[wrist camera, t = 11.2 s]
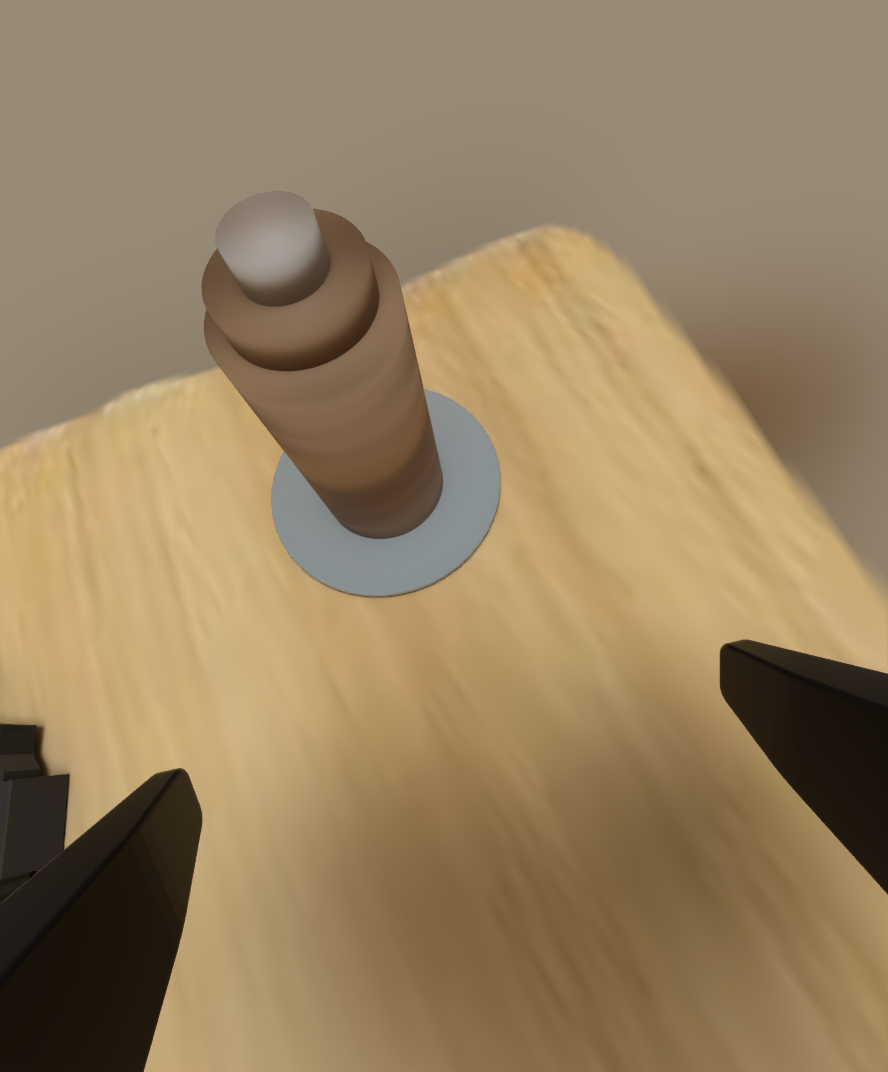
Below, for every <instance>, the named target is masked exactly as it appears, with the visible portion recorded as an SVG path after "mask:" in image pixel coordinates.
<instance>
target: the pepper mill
mask: <svg viewBox="0 0 888 1072" xmlns="http://www.w3.org/2000/svg"><path fill="white" fill-rule="evenodd" d="M215 241H216V246H217V250H216V251H215V252H214V254H213V255H212V257H211V258H210V260H209V262H208V264H207V266H206V269H205V272H204V275H203V280H202V297H203V301H204V304H205V306H206V309H207V310H206V313H205V320H204V334H205V340H206V344H207V347H208V349H209V352H210V354H211V355H212V357H213V359H214V360H215V362H216V363H217V364H218V366H219V367H220V368H221V370H222V371H223V372H224V374H225V375H226V376H227V377H228V379H229V380H230V381H231V383H232V384H233V385H234V387H235V388H236V389H237V390H238V392H239V393H240V394H241V396H242V397H243V398H244V400H245V401H246V402H247V403H248V405H249V406H250V407H251V409H252V410H253V411H254V413H255V414H256V415H257V417H258V418H259V419H260V420H261V422H262V423H263V424H264V426H265V427H266V428H267V430H268V431H269V432H270V433H271V435H272V436H273V437H274V439H275V440H276V441H277V443H278V444H279V445H280V446H281V448H282V449H283V450H284V452H285V453H286V454H287V456H288V457H289V458H290V460H291V461H292V462H293V463H294V465H295V466H296V467H297V469H298V470H299V471H300V473H301V474H302V475H303V476H304V478H305V479H306V480H307V482H308V483H309V484H310V486H311V487H312V488H313V489H314V491H315V492H316V493H317V495H318V496H319V497H320V499H321V500H322V501H323V502H324V504H325V505H326V506H327V508H328V509H329V510H330V512H331V513H332V514H333V516H334V517H335V518H336V519H337V520H338V522H339V523H340V524H341V525H342V526H343V527H345V528H346V529H347V530H349V531H351V532H352V533H354V534H357V535H359V536H362V537H365V538H371V539H389V538H394V537H398V536H401V535H404V534H406V533H408V532H410V531H412V530H414V529H415V528H417V527H418V526H420V525H421V524H422V523H423V522H424V521H425V520H426V519H427V518H428V517H429V516H430V515H431V514H432V512H433V511H434V510H435V508H436V506H437V504H438V502H439V500H440V497H441V493H442V489H443V473H442V469H441V464H440V460H439V455H438V451H437V446H436V442H435V437H434V433H433V428H432V424H431V420H430V415H429V411H428V406H427V402H426V397H425V393H424V388H423V384H422V379H421V375H420V371H419V366H418V362H417V357H416V353H415V348H414V344H413V339H412V335H411V330H410V326H409V322H408V317H407V313H406V308H405V304H404V299H403V295H402V290H401V286H400V282H399V278H398V275H397V273H396V271H395V268H394V267H393V265H392V264H391V262H390V261H389V259H388V258H387V257H386V256H385V255H384V254H383V253H382V252H381V251H379V250H378V249H377V248H376V247H374V246H373V245H371V244H369V243H368V242H366V241H365V239H364V237H363V235H362V234H361V232H360V231H359V230H358V229H357V228H356V227H355V226H354V225H353V224H352V223H351V222H349V221H348V220H346V219H345V218H343V217H341V216H339V215H337V214H334V213H331V212H328V211H324V210H318V209H312V207H311V206H310V204H309V203H308V202H307V201H306V200H305V199H304V198H302V197H300V196H298V195H296V194H293V193H290V192H282V191H273V192H265V193H261V194H257V195H254V196H251V197H249V198H247V199H245V200H243V201H241V202H239V203H238V204H236V205H235V206H234V207H233V208H231V209H230V210H229V211H228V212H227V213H226V214H225V215H224V217H223V218H222V220H221V221H220V223H219V225H218V227H217V230H216V235H215Z"/></svg>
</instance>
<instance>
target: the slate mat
mask: <svg viewBox="0 0 888 1072" xmlns="http://www.w3.org/2000/svg"><path fill="white" fill-rule="evenodd" d="M424 393H425V397H426V402H427V406H428V411H429V415H430V420H431V424H432V428H433V433H434V437H435V442H436V446H437V451H438V455H439V460H440V464H441V469H442V473H443V489H442V493H441V497H440V500H439V502H438V504H437V506H436V508H435V510H434V511H433V512H432V514H431V515H430V516H429V517H428V518H427V519H426V520H425V521H424V522H423V523H422V524H421V525H420V526H418V527H417V528H415V529H414V530H412V531H410V532H408V533H406V534H404V535H401V536H398V537H394V538H389V539H371V538H365V537H362V536H359V535H357V534H354V533H352V532H351V531H349V530H347V529H346V528H345V527H343V526H342V525H341V524H340V523H339V522H338V520H337V519H336V518H335V517H334V516H333V514H332V513H331V512H330V510H329V509H328V508H327V506H326V505H325V504H324V502H323V501H322V500H321V499H320V497H319V496H318V495H317V493H316V492H315V491H314V489H313V488H312V487H311V486H310V484H309V483H308V482H307V480H306V479H305V478H304V476H303V475H302V474H301V473H300V471H299V470H298V469H297V467H296V466H295V465H294V463H293V462H292V461H291V460H290V458H289V457H288V456H287V454H286V453H285V452H283V454H282V456H281V459H280V461H279V463H278V466H277V469H276V472H275V475H274V480H273V486H272V497H271V505H272V514H273V520H274V524H275V527H276V531H277V533H278V535H279V538H280V540H281V542H282V544H283V546H284V547H285V549H286V550H287V552H288V554H289V555H290V556H291V557H292V558H293V560H294V561H295V562H296V563H297V564H298V565H299V566H300V567H301V568H302V569H303V570H305V571H306V572H307V573H308V574H309V575H311V576H312V577H313V578H315V579H316V580H318V581H320V582H321V583H323V584H324V585H327V586H329V587H331V588H333V589H336V590H338V591H341V592H345V593H348V594H352V595H358V596H365V597H389V596H398V595H403V594H407V593H411V592H415V591H418V590H420V589H423V588H425V587H428V586H431V585H432V584H434V583H436V582H438V581H440V580H442V579H444V578H445V577H447V576H448V575H449V574H451V573H452V572H454V571H455V570H456V569H458V568H459V567H460V566H461V565H462V564H463V563H464V562H465V561H467V560H468V559H469V558H470V557H471V555H472V554H473V553H474V552H475V551H476V549H477V548H478V547H479V546H480V544H481V543H482V541H483V539H484V538H485V536H486V535H487V533H488V531H489V529H490V527H491V524H492V522H493V520H494V517H495V514H496V510H497V507H498V502H499V495H500V471H499V464H498V459H497V455H496V452H495V449H494V446H493V444H492V442H491V440H490V438H489V436H488V434H487V433H486V431H485V430H484V428H483V427H482V425H481V424H480V423H479V422H478V421H477V419H476V418H475V417H474V416H473V415H472V414H471V413H470V412H468V411H467V410H466V409H465V408H464V407H463V406H461V405H459V404H458V403H456V402H455V401H453V400H452V399H450V398H448V397H445V396H443V395H441V394H439V393H436V392H433V391H430V390H427V389H424Z"/></svg>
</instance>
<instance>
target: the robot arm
mask: <svg viewBox="0 0 888 1072" xmlns="http://www.w3.org/2000/svg"><path fill="white" fill-rule="evenodd" d="M720 689H721V693H722V695H723V697H724V699H725V701H726V702H727V704H728V705H729V706H730V708H731V709H732V710H733V712H734V713H735V714H736V716H737V717H738V718H739V720H740V721H741V722H742V724H743V725H744V726H745V728H746V729H747V730H748V732H749V733H750V734H751V736H752V737H753V738H754V740H755V741H756V742H757V744H758V745H759V747H760V748H761V749H762V751H763V752H764V753H765V755H766V756H767V757H768V759H769V760H770V761H771V763H772V764H773V765H774V766H775V768H776V769H777V770H778V771H779V773H780V774H781V775H782V777H783V778H784V779H785V780H786V781H787V782H788V784H789V785H790V786H791V787H792V788H793V789H794V791H795V792H796V793H797V794H798V795H799V796H800V797H801V798H802V799H803V801H804V802H805V803H806V804H807V805H808V806H809V807H810V808H811V809H812V811H813V812H814V813H815V814H816V815H817V816H818V817H819V818H820V819H821V821H822V822H823V823H824V824H825V825H826V826H827V827H828V828H829V830H830V831H831V832H832V833H833V834H834V835H835V836H836V837H837V838H838V840H839V841H840V842H841V843H842V844H843V845H844V846H845V847H846V848H847V850H848V851H849V852H850V853H851V854H852V855H853V856H854V857H855V858H856V860H857V861H858V862H859V863H860V864H861V865H862V866H863V867H864V868H865V870H866V871H867V872H868V873H869V874H870V875H871V876H872V877H873V879H874V880H875V881H876V882H877V883H878V884H879V885H880V886H881V887H882V889H883V890H884V891H885V892H886V893H887V894H888V674H887V673H883V672H879V671H875V670H871V669H867V668H862V667H858V666H854V665H850V664H846V663H842V662H838V661H834V660H830V659H825V658H821V657H817V656H813V655H809V654H805V653H801V652H797V651H793V650H788V649H784V648H780V647H776V646H772V645H768V644H764V643H760V642H756V641H752V640H739V641H735V642H731V643H726V644H724V645H723V646H722V647H721V650H720ZM201 828H202V811H201V807H200V804H199V801H198V799H197V796H196V793H195V791H194V788H193V785H192V783H191V780H190V777H189V775H188V773H187V772H186V771H185V770H184V769H182V768H177V769H173V770H169V771H164V772H160V773H157V774H154V775H153V776H152V777H150V778H149V779H148V780H147V781H146V782H145V783H143V784H142V785H141V786H140V787H139V788H137V789H136V790H135V791H134V792H133V793H131V794H130V795H129V796H128V797H127V798H125V799H124V800H123V801H122V802H121V803H119V804H118V805H117V806H116V807H115V808H114V809H112V810H111V811H110V812H109V813H108V814H106V815H105V816H104V817H103V818H102V819H100V820H99V821H98V822H97V823H96V824H94V825H93V826H92V827H91V828H90V829H88V830H87V831H86V832H85V833H84V834H83V835H81V836H80V837H79V838H78V839H77V840H75V841H74V842H73V843H72V844H71V845H69V846H68V847H67V848H66V849H65V850H63V851H62V852H61V853H60V854H59V855H57V856H56V857H55V858H54V859H53V860H52V861H50V862H49V863H48V864H47V865H46V866H44V867H43V868H42V869H41V870H40V871H38V872H37V873H36V874H35V875H34V876H32V877H31V878H30V879H29V880H28V881H27V882H25V883H24V884H23V885H22V886H21V887H19V888H18V889H17V890H16V891H15V892H13V893H12V894H11V895H10V896H9V897H7V898H6V899H5V900H4V901H3V902H1V903H0V1072H144V1069H145V1065H146V1061H147V1058H148V1054H149V1051H150V1047H151V1044H152V1040H153V1036H154V1033H155V1029H156V1026H157V1022H158V1019H159V1015H160V1012H161V1008H162V1004H163V1001H164V997H165V994H166V990H167V987H168V983H169V979H170V976H171V972H172V969H173V965H174V962H175V958H176V955H177V951H178V947H179V943H180V939H181V936H182V932H183V927H184V922H185V917H186V913H187V907H188V901H189V896H190V890H191V884H192V879H193V873H194V868H195V862H196V856H197V851H198V845H199V839H200V834H201Z"/></svg>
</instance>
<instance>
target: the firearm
mask: <svg viewBox="0 0 888 1072" xmlns="http://www.w3.org/2000/svg"><path fill="white" fill-rule="evenodd" d="M35 732H36V725H14V724H0V903H1V902H3V901H4V900H5V899H6V898H7V897H9V896H10V895H11V894H12V893H13V892H15V891H16V890H17V889H18V888H19V887H21V886H22V885H23V884H24V883H25V882H27V881H28V880H29V878H30V872H32V871H35V870H39V869H42V868H43V867H44V866H46V865H47V864H48V863H49V862H50V861H52V860H53V859H54V858H55V857H56V856H57V855H59V854H60V853H61V852H62V849H63V837H64V824H65V812H66V799H67V787H68V774H65V775H54V776H44V777H40V767H39V765H38V763H37V761H36V758H35V756H34V754H33V751H34V741H35Z"/></svg>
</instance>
